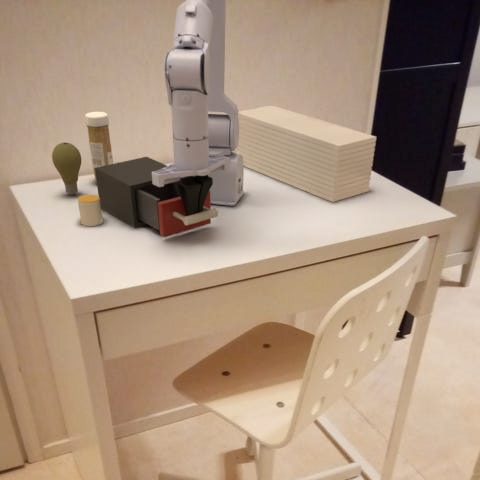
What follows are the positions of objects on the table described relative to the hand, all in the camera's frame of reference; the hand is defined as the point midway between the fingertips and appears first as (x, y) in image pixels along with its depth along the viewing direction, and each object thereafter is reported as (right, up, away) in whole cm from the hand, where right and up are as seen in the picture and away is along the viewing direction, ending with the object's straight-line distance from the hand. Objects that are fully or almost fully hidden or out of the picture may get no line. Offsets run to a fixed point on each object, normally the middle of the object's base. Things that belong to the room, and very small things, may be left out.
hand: (193, 219), depth 106 cm
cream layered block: (+21, +19, +29) cm, 41 cm away
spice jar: (-21, +16, +25) cm, 36 cm away
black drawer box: (-11, +6, +12) cm, 17 cm away
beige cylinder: (-20, +2, +8) cm, 21 cm away
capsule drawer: (-3, +1, +5) cm, 6 cm away
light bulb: (-26, +11, +19) cm, 34 cm away
